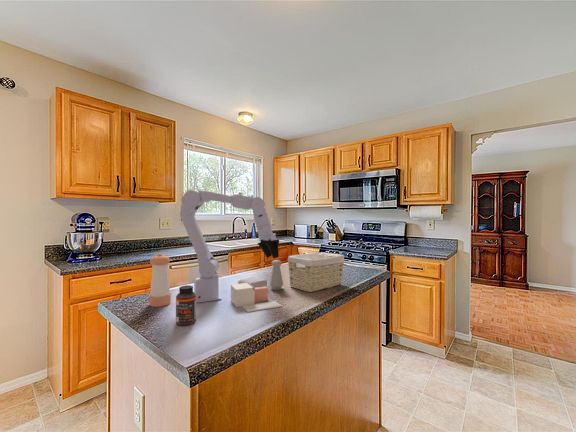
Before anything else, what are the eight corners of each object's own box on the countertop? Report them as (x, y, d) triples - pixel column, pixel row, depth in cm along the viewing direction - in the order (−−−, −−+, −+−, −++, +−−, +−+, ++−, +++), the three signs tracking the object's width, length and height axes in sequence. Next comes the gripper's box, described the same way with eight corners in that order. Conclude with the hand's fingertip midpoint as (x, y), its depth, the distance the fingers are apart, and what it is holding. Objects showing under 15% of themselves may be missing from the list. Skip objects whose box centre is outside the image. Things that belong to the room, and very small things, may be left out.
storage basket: (321, 279, 144) (321, 251, 144) (346, 285, 131) (346, 254, 131) (286, 287, 128) (286, 255, 128) (310, 294, 116) (310, 259, 116)
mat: (247, 312, 95) (247, 311, 95) (242, 307, 100) (242, 306, 100) (281, 306, 101) (281, 305, 101) (275, 302, 106) (275, 301, 106)
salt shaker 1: (164, 299, 110) (163, 251, 110) (174, 302, 106) (174, 253, 106) (145, 304, 104) (145, 254, 104) (156, 308, 100) (155, 255, 100)
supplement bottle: (176, 327, 82) (175, 290, 82) (175, 320, 88) (175, 285, 88) (197, 324, 85) (196, 288, 85) (195, 317, 90) (195, 283, 90)
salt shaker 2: (273, 291, 121) (273, 261, 121) (268, 288, 126) (268, 259, 126) (285, 289, 124) (285, 260, 124) (279, 286, 129) (279, 258, 129)
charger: (248, 284, 135) (267, 290, 124) (231, 287, 128) (250, 294, 117) (248, 274, 135) (267, 279, 124) (231, 277, 128) (250, 283, 117)
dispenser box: (236, 307, 100) (236, 289, 100) (230, 300, 108) (230, 284, 108) (254, 304, 104) (254, 287, 103) (248, 298, 111) (248, 282, 111)
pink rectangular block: (240, 304, 104) (240, 291, 104) (239, 302, 106) (239, 289, 106) (267, 300, 109) (267, 287, 109) (265, 298, 111) (265, 286, 111)
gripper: (278, 221, 108) (288, 254, 109) (265, 224, 121) (274, 253, 122) (262, 226, 105) (272, 260, 105) (251, 228, 118) (259, 258, 118)
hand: (272, 257), depth 113 cm, fingers open, 7 cm apart
